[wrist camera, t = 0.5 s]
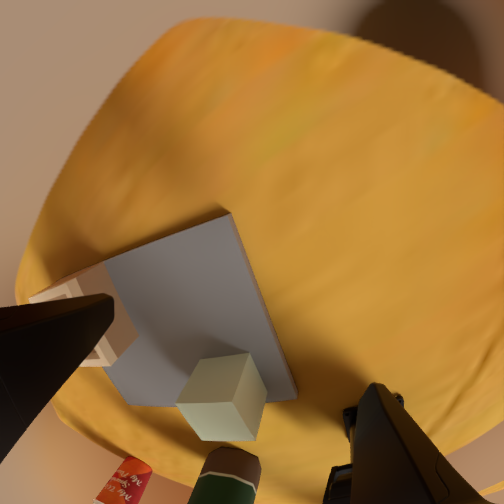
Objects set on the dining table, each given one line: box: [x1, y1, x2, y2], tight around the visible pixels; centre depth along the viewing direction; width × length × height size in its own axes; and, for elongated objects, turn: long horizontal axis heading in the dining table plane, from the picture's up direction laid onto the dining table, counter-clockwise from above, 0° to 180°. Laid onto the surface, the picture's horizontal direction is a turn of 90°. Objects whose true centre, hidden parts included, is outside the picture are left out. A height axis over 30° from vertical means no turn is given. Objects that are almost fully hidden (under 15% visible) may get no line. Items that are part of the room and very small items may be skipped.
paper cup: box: [93, 456, 152, 504], centre depth 33 cm, size 8×8×14 cm
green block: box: [175, 353, 268, 441], centre depth 22 cm, size 5×5×6 cm
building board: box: [28, 213, 298, 407], centre depth 23 cm, size 18×22×6 cm
